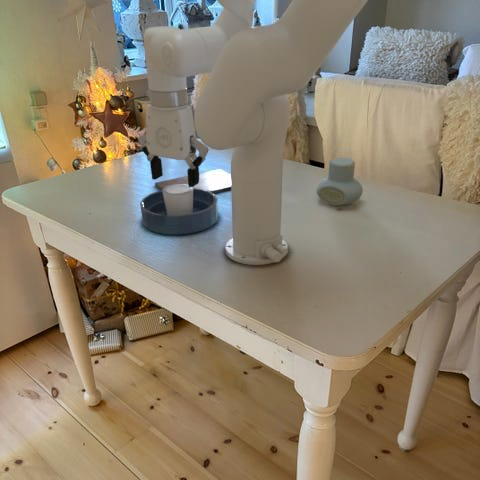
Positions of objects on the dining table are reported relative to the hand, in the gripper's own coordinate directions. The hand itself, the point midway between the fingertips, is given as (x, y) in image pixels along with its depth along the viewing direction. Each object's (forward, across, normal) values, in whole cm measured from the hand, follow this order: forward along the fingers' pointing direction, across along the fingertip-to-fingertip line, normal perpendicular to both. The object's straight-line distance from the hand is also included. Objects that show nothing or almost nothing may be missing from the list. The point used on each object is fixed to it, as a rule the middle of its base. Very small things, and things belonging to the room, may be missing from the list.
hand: (175, 181), depth 108 cm
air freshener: (+8, +30, +26) cm, 40 cm away
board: (+9, -7, +20) cm, 23 cm away
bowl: (+9, +1, 0) cm, 9 cm away
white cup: (+9, +1, 0) cm, 9 cm away
